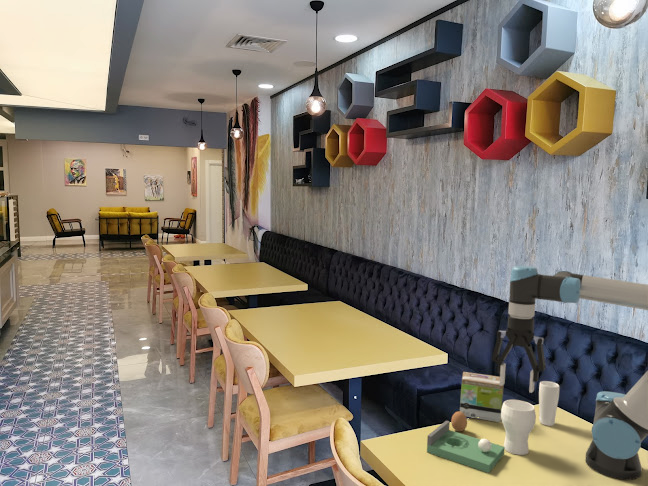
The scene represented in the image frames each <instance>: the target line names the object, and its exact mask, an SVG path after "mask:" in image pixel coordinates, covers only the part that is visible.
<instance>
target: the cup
mask: <svg viewBox="0 0 648 486" xmlns="http://www.w3.org/2000/svg"><path fill="white" fill-rule="evenodd" d="M536 417H537V415H536V409H535V406H534V405H533V404H531V403H530V402H527V401H524V400H519V399H506V400H505V401H503V402H502V409H501V422H502V425H503V428H504V430H505V438H504V443H503V447H505V449H504V451H506V452H508V453H510V454H514V455H517V456H525V455H528V454H529V441H528V440H529V436H530V433H531V432H532V430H533V429H534V427H535V424H536V420H537V419H536Z"/></svg>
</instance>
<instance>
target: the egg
mask: <svg viewBox="0 0 648 486" xmlns="http://www.w3.org/2000/svg"><path fill="white" fill-rule="evenodd" d="M467 418H468V417H466V416H465V414H464V413H463V412H461V411H460V410H459V411H455V412H454V413H453V414H452V416H451V421H450V424H451V426H452V428H453V429H454V431H455V432H463V431H465V429H466V428H467V426H468V419H467Z"/></svg>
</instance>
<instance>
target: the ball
mask: <svg viewBox="0 0 648 486" xmlns="http://www.w3.org/2000/svg"><path fill="white" fill-rule="evenodd" d="M491 443H492V442H491V441H490V440H489V439H487V438H481V439H480V441H479V443H478V447H479V449H480V450H481V451H482V452H489V451H490V450H491Z"/></svg>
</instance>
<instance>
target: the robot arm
mask: <svg viewBox="0 0 648 486" xmlns="http://www.w3.org/2000/svg"><path fill="white" fill-rule="evenodd" d="M580 299H581V300H587V301H591V302H592V301H593V302H598V303H599V302H600V303H604V304H610V305H615V306H622V307H626V308H633V309H639V310H644V311H648V284H646V283H639V282H633V281H632V282H631V281H625V280H618V279H612V278H606V277H599V276H592V275H585V274H577V273H572V272H571V271H567V270H564V271H563V270H561V271H557V272H555V274H553V275H551V274H550V275H549V274H548V275H546V274H539V272H538V268H537V267H534V266H529V265H515V266H513V267H512V269H511V273H510V279H509V301H508V313H507V314H508V316H507V329H506V330H498V331H496V341H495V345H494V349H493V354H492V355H491V356H492V357H491V361H492V362H495V363H496V364H497V367H496V374H497V375H499V377H500V384H499V385H500V386H502V385H503V386H504V385H505V383H506V382H505V380H506V365H507V364H506V363H505V360H506V358H507V356H508V355H509V354H510V351H511V350H512V348H513V347H515V346H516V347H517V346H518V347H520V348H523V349H524V351H525V352H526V355H527V358H528V360H529V363H530V365H531V368H532V370H530V373H529V374H530V375H529V388H528V391H529V393H531V394H532V393H533V392H534V391H535V384H536V383H537V382H538V381H539V376H540V375H539V373H540V372H544V371H545V370H546V368H547V367H546V359H545V352H544V342H545V338H544V337H543V336H542V337H538V336H536V335H535V333H534V327H535V326H534V325H535V319H534V317H535V313H536V312H535V310H536V300H544V301H551V302H560V303H564V304H569V303H570V304H576V303H579V301H580ZM505 337H507V339H508V340H509V341H508V342H507V345H506V346H505V348H504V350H503V351H502V353H501V355H500V352H501V348H502V344H503V341H504V338H505ZM533 340H534V344H535V345H536V352H537V353H536V354H537V358H536V355H535V353H534V350H533V348H532V344H531V342H533ZM499 356H500V357H499ZM537 360H538V361H537ZM647 436H648V370H647V371H646V372H645V373H644V374H643V375H642V376H641V377H640V379H638V381H637V382H636V383H635V384H634V385H633V386H632V387H631V389H630V390H628V392H627V393H626V394H625V393H620V392H614V391H606V390H605V391H599V392H597V393H596V399H595V411H594V418H593V424H592V426H591V437H592V440H591V441H590V444H589V446H588V447H587V450H586V452H585V459H584V461H585V463H586V465H587V466H588V467H589V468H590V469H591V470H594V471H595V472H597V473H599V474H601V475H604V476H607V477H610V478H613V479H620V480H627V481H628V480H629V481H630V480H636V479H639V478H641V476H642V469H643V468H642V463H641V460H640V456H639V451H640V449H641V447H642V446H641V445H642V442H643V441H644V440H645V439H646V437H647Z"/></svg>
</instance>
